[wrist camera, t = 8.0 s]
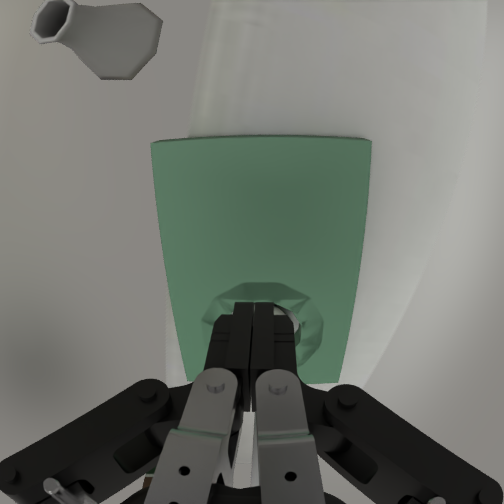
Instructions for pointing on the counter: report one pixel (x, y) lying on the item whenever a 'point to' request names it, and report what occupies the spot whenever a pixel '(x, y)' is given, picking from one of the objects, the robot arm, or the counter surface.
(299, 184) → the putting board
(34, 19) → the flask
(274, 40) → the counter surface
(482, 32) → the counter surface
